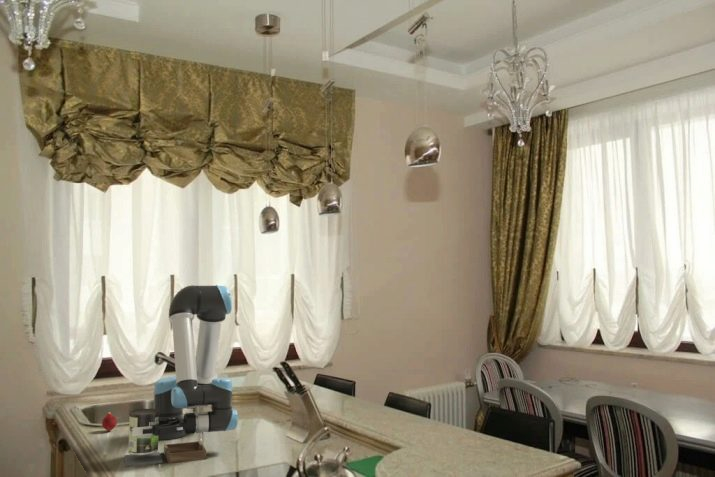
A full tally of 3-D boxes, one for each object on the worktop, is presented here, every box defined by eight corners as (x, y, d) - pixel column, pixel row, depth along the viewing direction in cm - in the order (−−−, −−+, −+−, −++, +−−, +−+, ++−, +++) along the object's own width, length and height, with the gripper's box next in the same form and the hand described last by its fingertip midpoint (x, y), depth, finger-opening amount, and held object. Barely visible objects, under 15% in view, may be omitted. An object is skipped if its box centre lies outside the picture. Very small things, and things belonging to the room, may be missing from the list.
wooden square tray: (163, 452, 227) (164, 444, 227) (200, 449, 232) (200, 441, 232) (168, 462, 215) (168, 454, 215) (206, 458, 220) (206, 450, 220)
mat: (124, 457, 221) (124, 455, 221) (158, 453, 226) (158, 451, 226) (126, 467, 210) (126, 464, 210) (162, 463, 215) (162, 460, 215)
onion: (118, 429, 260) (119, 410, 260) (113, 433, 254) (114, 413, 254) (104, 429, 259) (105, 410, 260) (99, 433, 254) (100, 413, 254)
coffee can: (163, 448, 222) (164, 409, 223) (148, 456, 212) (149, 415, 213) (138, 446, 224) (139, 407, 225) (122, 454, 214) (123, 413, 215)
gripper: (200, 440, 215) (133, 447, 206) (190, 426, 236) (129, 431, 227) (200, 419, 215) (133, 424, 206) (190, 406, 236) (129, 411, 227)
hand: (131, 428), depth 217 cm, fingers closed on coffee can, 10 cm apart
